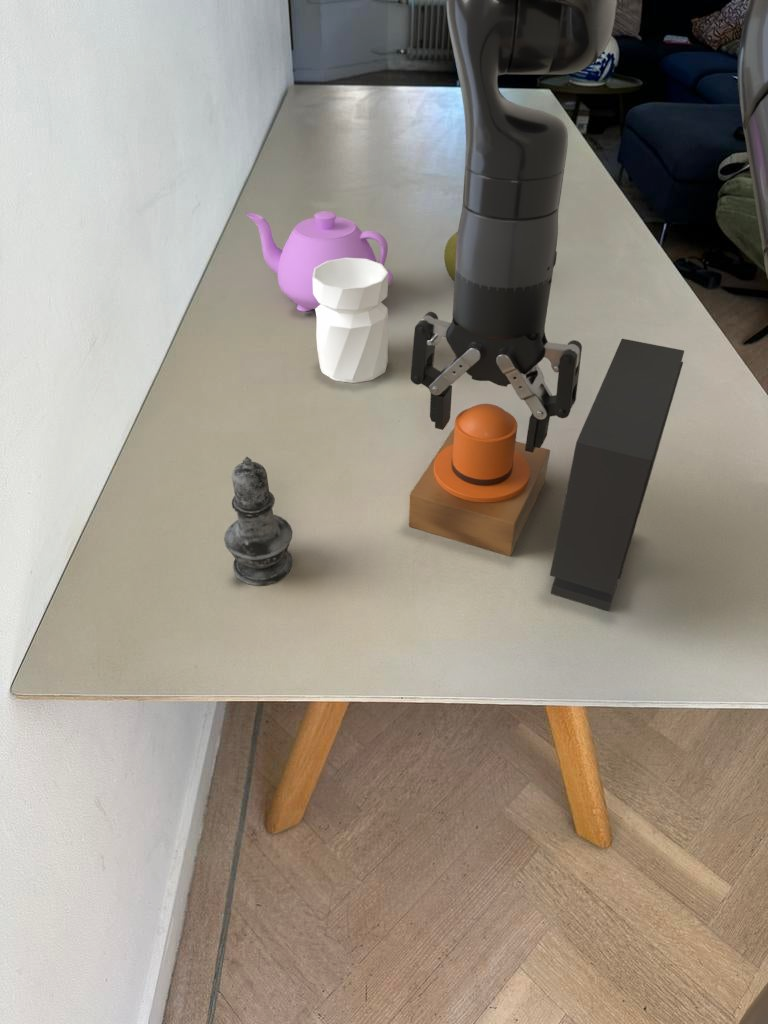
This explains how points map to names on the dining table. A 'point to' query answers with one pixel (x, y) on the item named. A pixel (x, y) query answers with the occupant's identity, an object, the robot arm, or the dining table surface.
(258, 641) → the dining table surface
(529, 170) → the robot arm
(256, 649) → the dining table surface
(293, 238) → the teapot
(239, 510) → the chess piece
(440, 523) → the stand
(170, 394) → the dining table surface
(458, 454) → the hat
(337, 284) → the vase
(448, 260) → the apple
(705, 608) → the dining table surface
